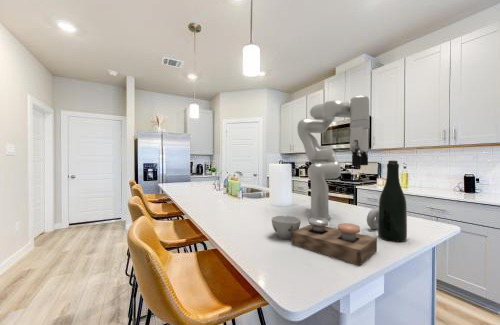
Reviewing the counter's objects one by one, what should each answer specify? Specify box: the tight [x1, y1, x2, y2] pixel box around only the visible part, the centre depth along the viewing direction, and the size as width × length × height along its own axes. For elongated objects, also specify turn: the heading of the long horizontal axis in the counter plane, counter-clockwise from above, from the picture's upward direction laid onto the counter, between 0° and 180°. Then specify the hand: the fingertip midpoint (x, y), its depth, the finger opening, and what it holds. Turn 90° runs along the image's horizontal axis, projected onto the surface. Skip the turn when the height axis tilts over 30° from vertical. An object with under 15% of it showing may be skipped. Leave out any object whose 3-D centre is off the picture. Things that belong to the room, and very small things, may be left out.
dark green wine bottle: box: [377, 160, 408, 243], centre depth 98 cm, size 10×10×33 cm
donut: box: [366, 207, 379, 230], centre depth 110 cm, size 10×4×10 cm, turn 117°
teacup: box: [271, 215, 302, 240], centre depth 101 cm, size 15×12×8 cm
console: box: [291, 224, 378, 267], centre depth 88 cm, size 26×16×5 cm, turn 45°
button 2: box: [337, 222, 361, 243], centre depth 84 cm, size 7×7×6 cm
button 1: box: [308, 217, 329, 235], centre depth 92 cm, size 7×7×6 cm
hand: (360, 165), depth 99 cm, fingers open, 9 cm apart
